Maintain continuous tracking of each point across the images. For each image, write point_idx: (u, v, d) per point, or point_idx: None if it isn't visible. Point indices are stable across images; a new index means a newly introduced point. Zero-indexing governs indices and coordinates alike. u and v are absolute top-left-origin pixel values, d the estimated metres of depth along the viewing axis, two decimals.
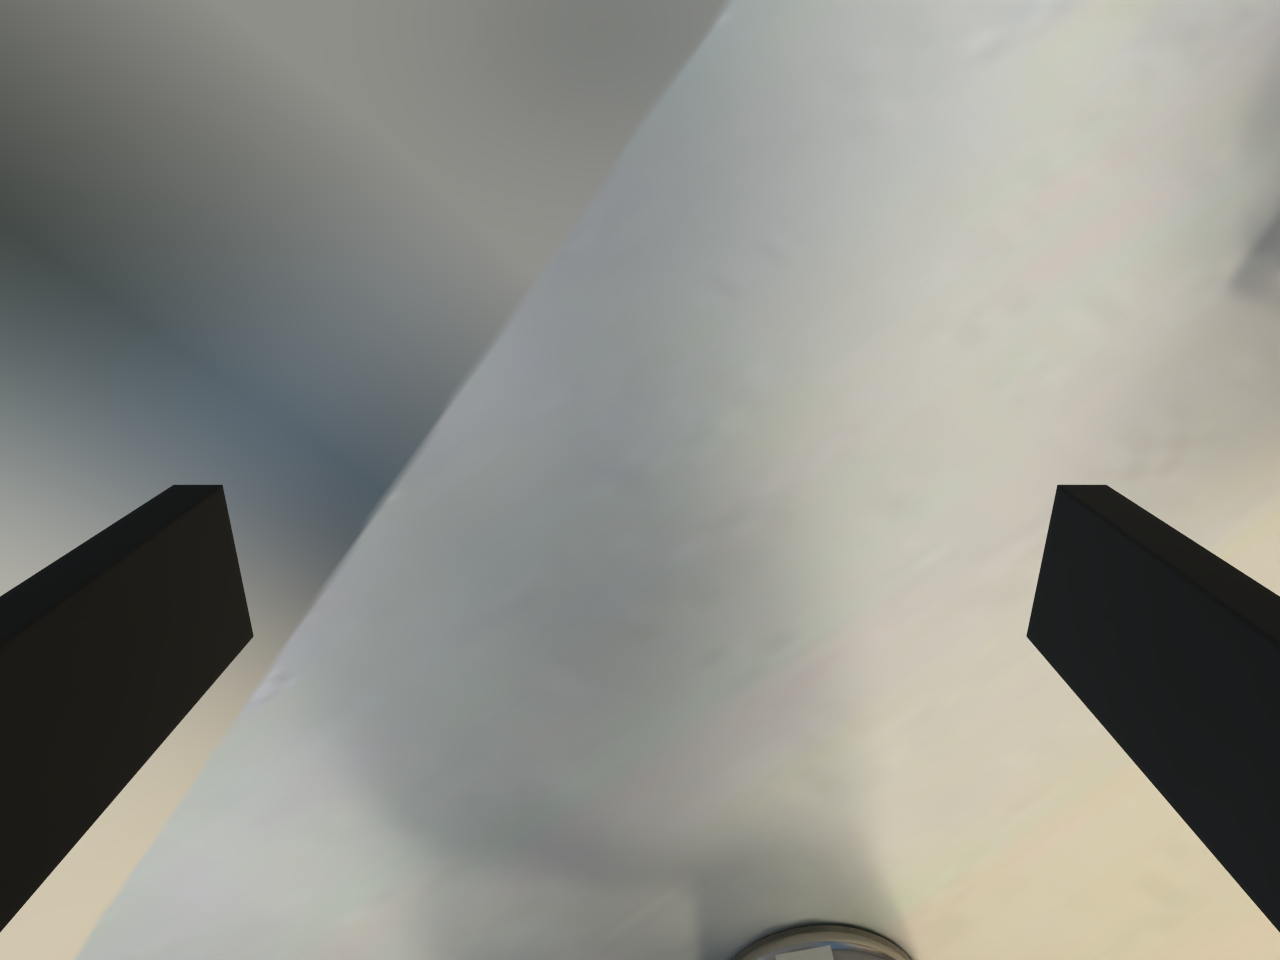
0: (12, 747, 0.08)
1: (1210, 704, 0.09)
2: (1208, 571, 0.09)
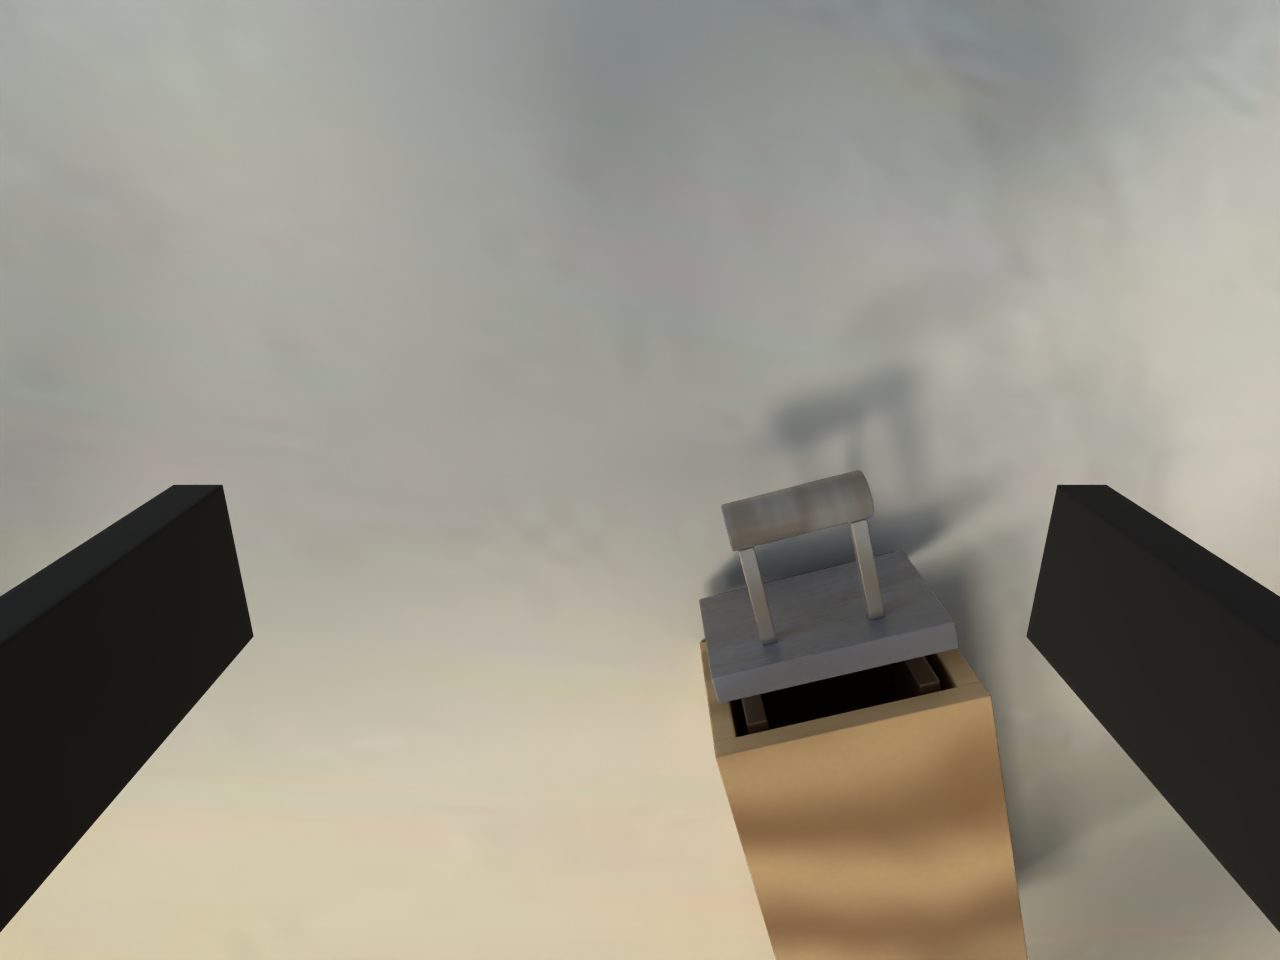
0: (12, 747, 0.08)
1: (1210, 705, 0.09)
2: (1208, 571, 0.09)
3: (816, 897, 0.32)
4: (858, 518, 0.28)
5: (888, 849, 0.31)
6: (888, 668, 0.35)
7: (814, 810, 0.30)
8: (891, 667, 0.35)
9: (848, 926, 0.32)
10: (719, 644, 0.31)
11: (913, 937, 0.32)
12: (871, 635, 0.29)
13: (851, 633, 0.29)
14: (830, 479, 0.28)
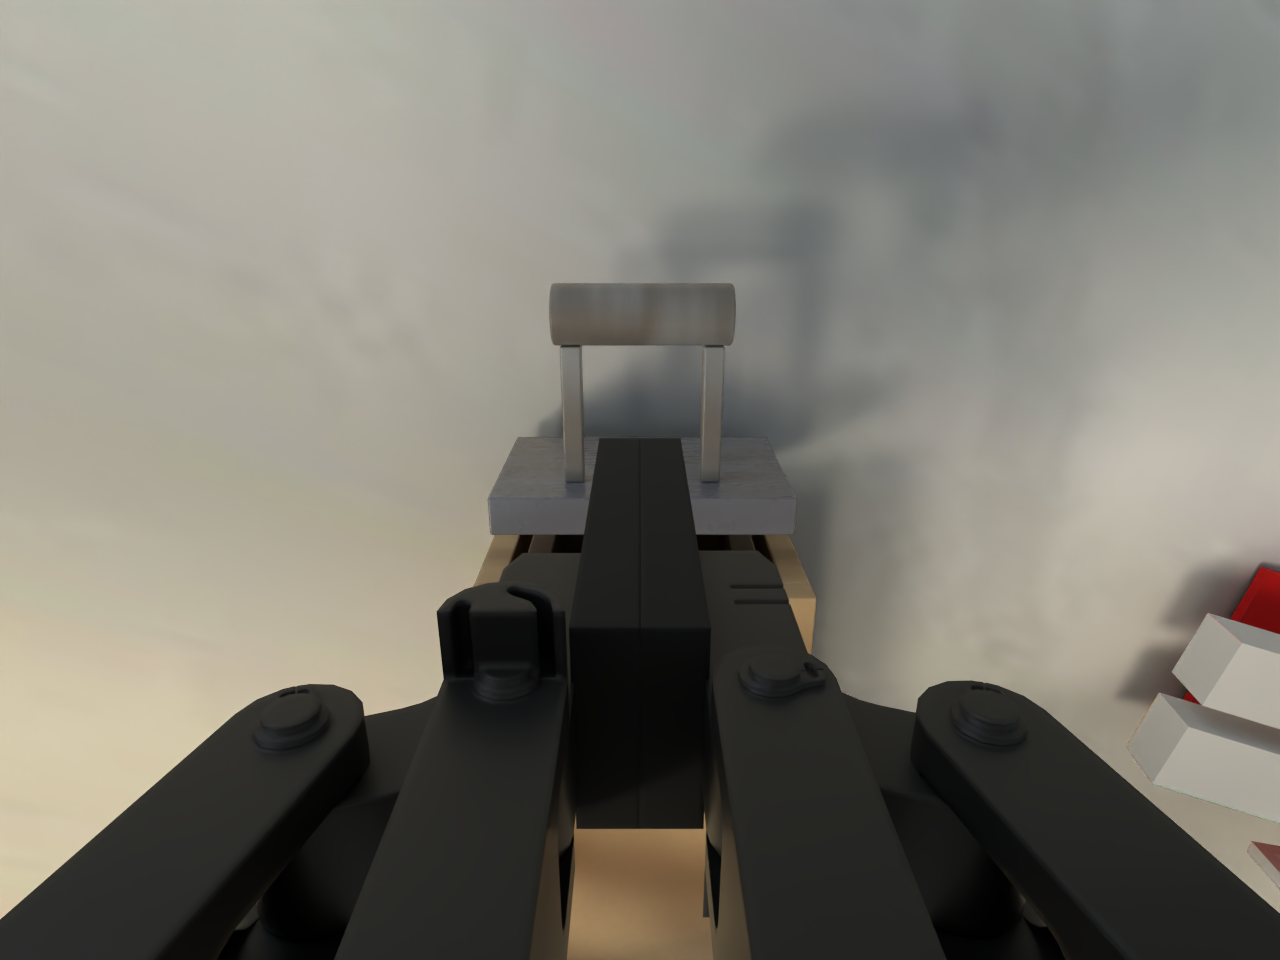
0: None
1: None
2: (664, 497, 0.12)
3: None
4: (713, 339, 0.22)
5: None
6: None
7: None
8: None
9: (587, 855, 0.26)
10: (516, 473, 0.25)
11: (660, 884, 0.27)
12: (695, 494, 0.23)
13: None
14: (692, 283, 0.22)
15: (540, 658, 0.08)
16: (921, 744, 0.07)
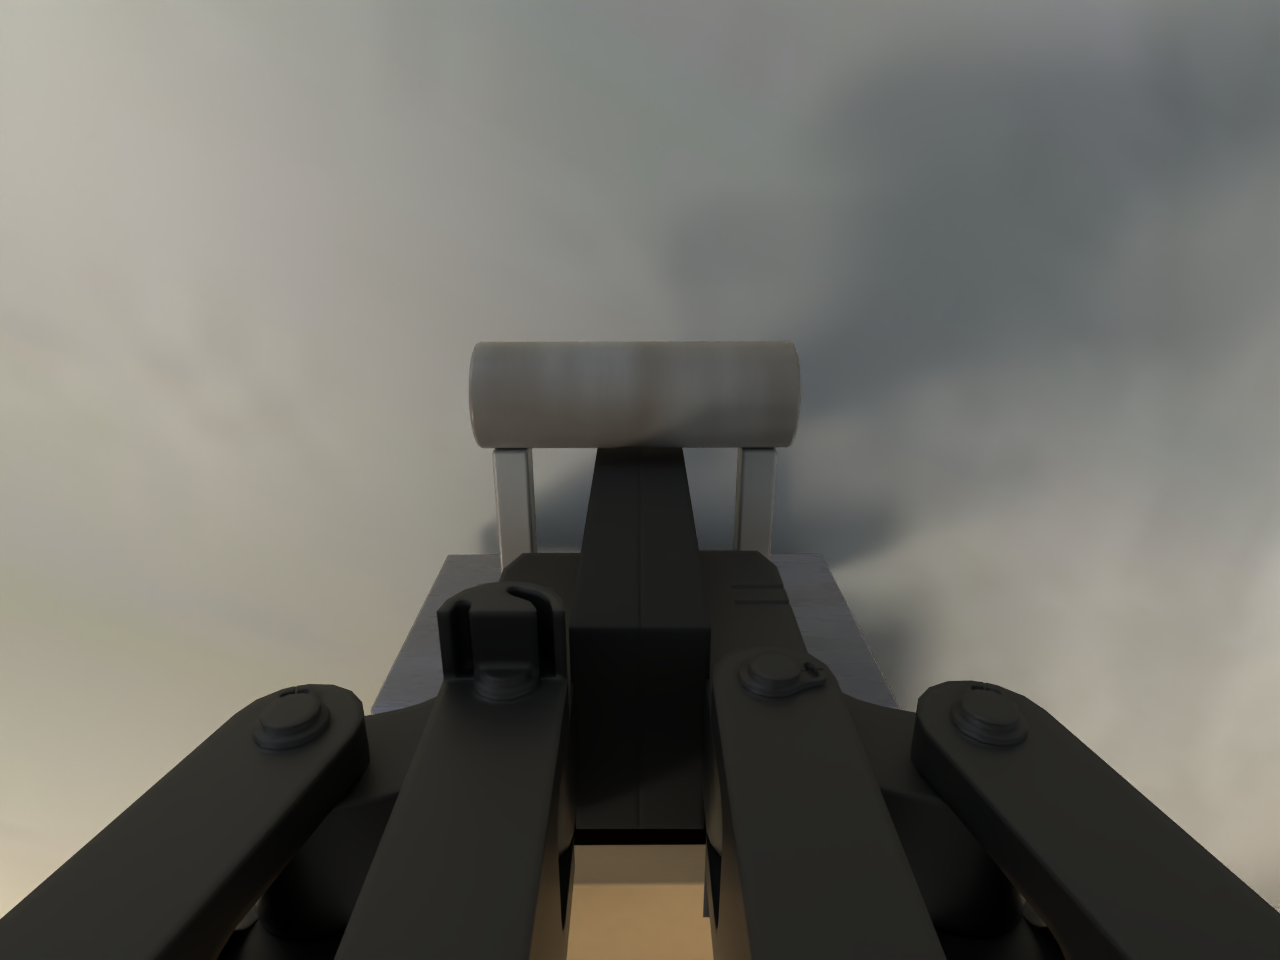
0: None
1: None
2: (665, 497, 0.12)
3: None
4: (759, 441, 0.13)
5: None
6: None
7: None
8: None
9: None
10: (431, 641, 0.15)
11: None
12: None
13: None
14: (723, 342, 0.13)
15: (539, 657, 0.08)
16: (921, 744, 0.07)
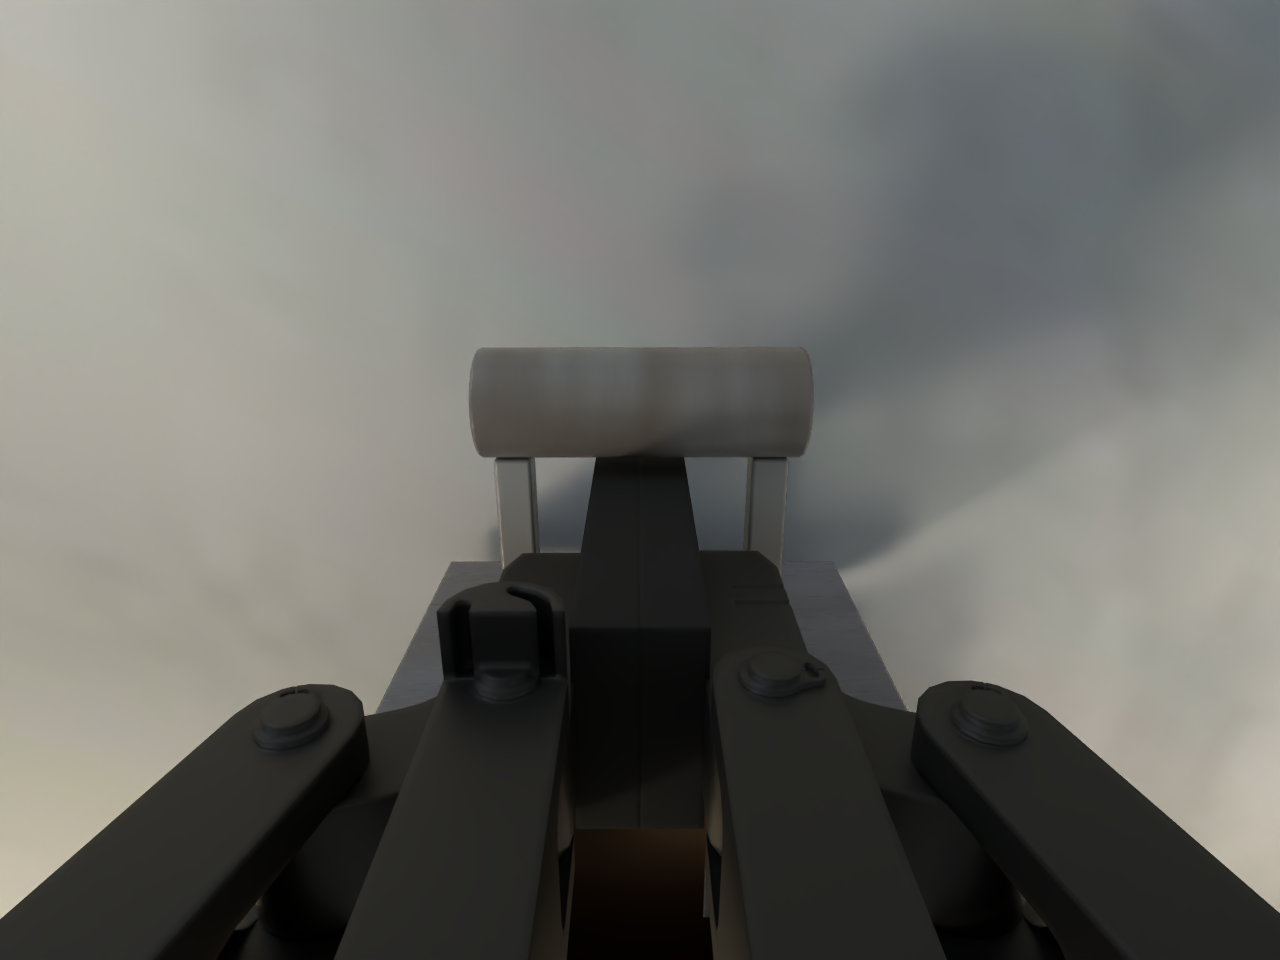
0: None
1: None
2: (665, 497, 0.12)
3: None
4: (770, 450, 0.12)
5: None
6: None
7: None
8: None
9: None
10: (432, 653, 0.15)
11: None
12: None
13: None
14: (732, 348, 0.12)
15: (539, 657, 0.08)
16: (921, 744, 0.07)
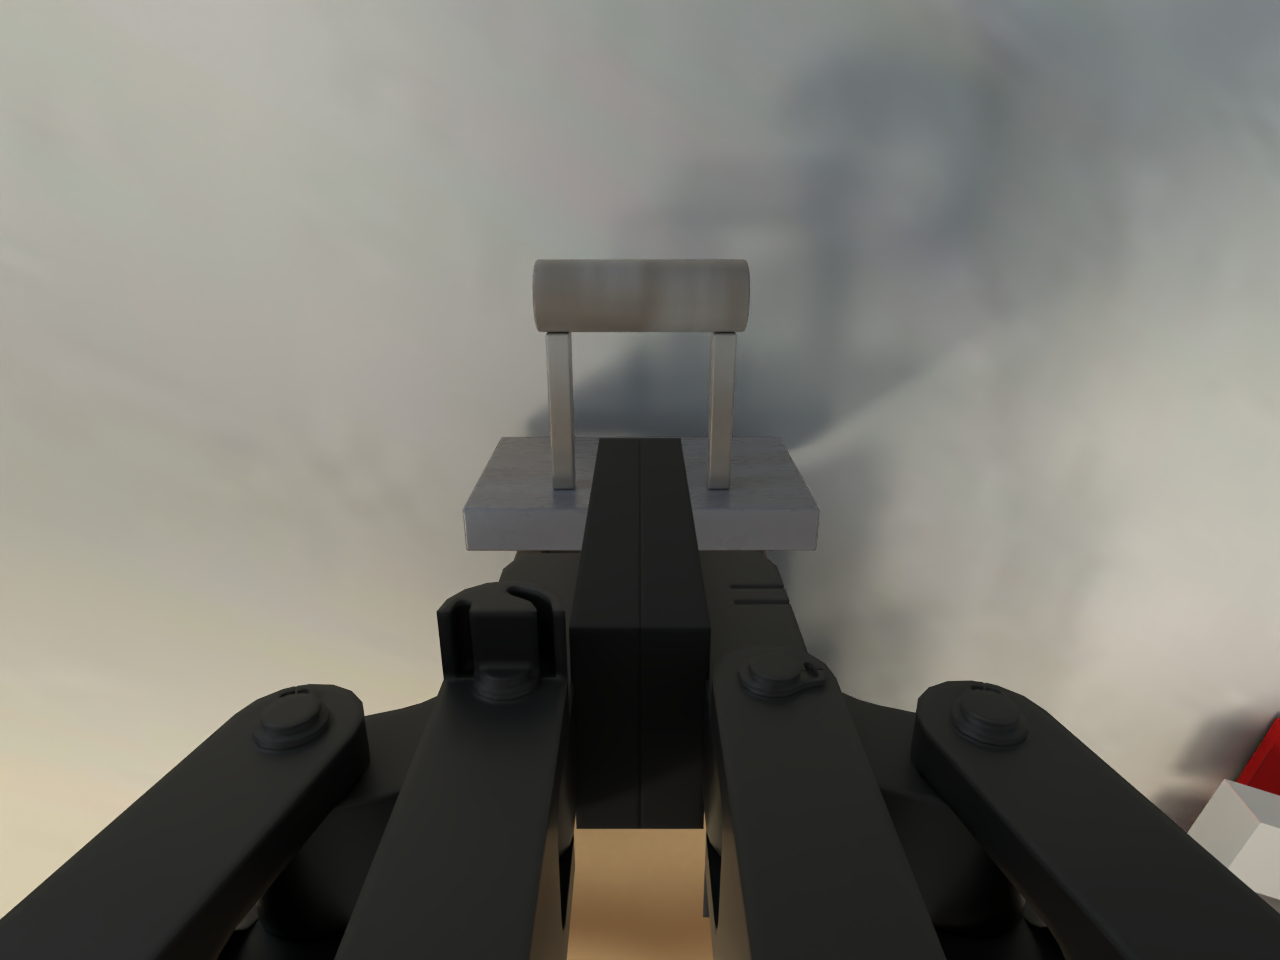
0: None
1: None
2: (665, 497, 0.12)
3: None
4: (723, 324, 0.19)
5: None
6: None
7: (572, 898, 0.23)
8: None
9: None
10: (498, 479, 0.22)
11: None
12: (702, 503, 0.20)
13: None
14: None
15: (539, 658, 0.08)
16: (921, 744, 0.07)
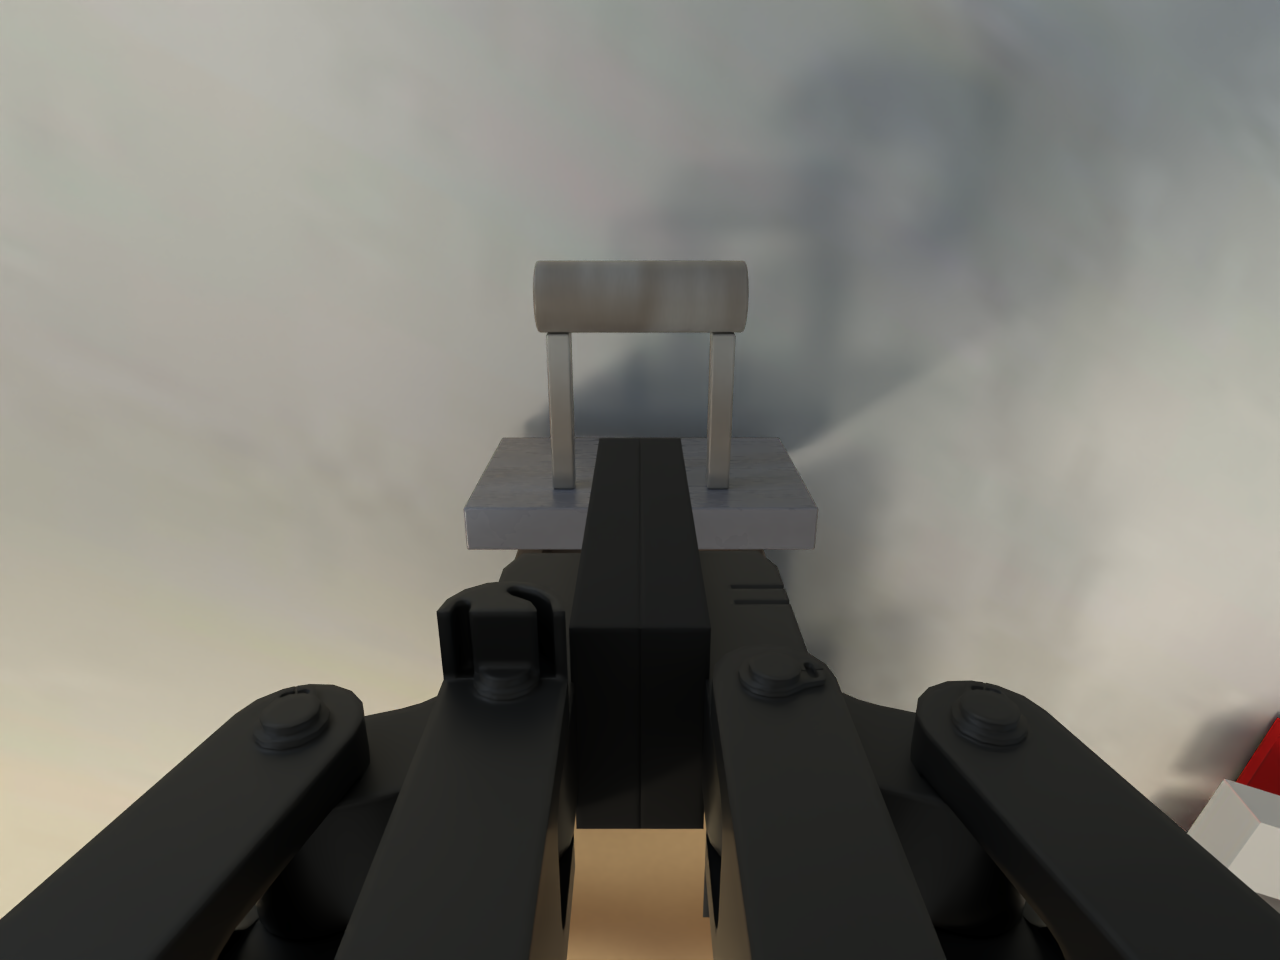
0: None
1: None
2: (665, 497, 0.12)
3: None
4: (722, 324, 0.19)
5: None
6: None
7: (573, 896, 0.23)
8: None
9: None
10: (499, 478, 0.22)
11: None
12: (701, 503, 0.20)
13: None
14: None
15: (539, 658, 0.08)
16: (921, 744, 0.07)
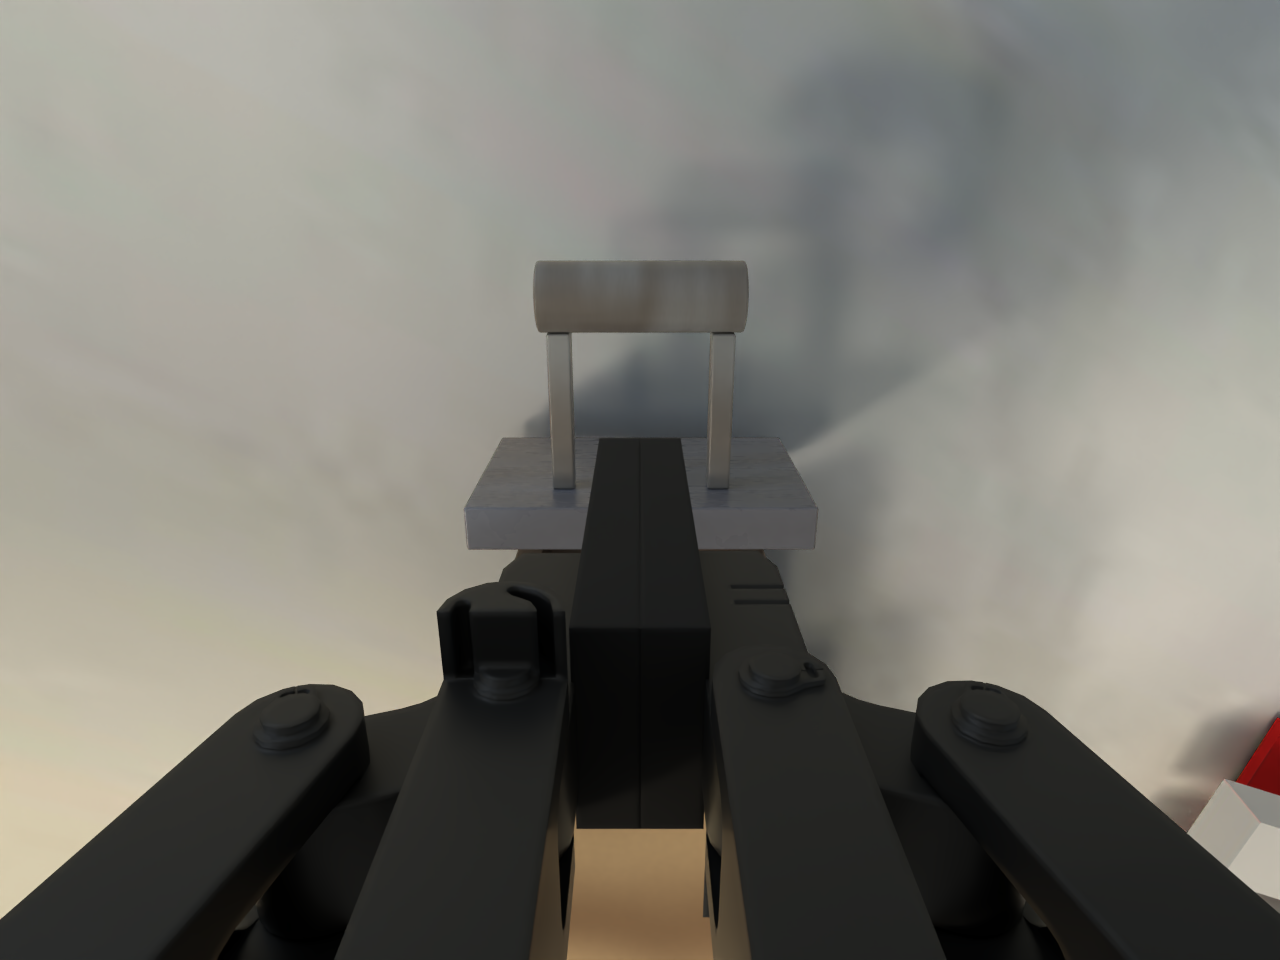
0: None
1: None
2: (665, 497, 0.12)
3: None
4: (722, 324, 0.19)
5: None
6: None
7: (573, 896, 0.23)
8: None
9: None
10: (499, 478, 0.22)
11: None
12: (702, 502, 0.20)
13: None
14: None
15: (539, 658, 0.08)
16: (921, 744, 0.07)
